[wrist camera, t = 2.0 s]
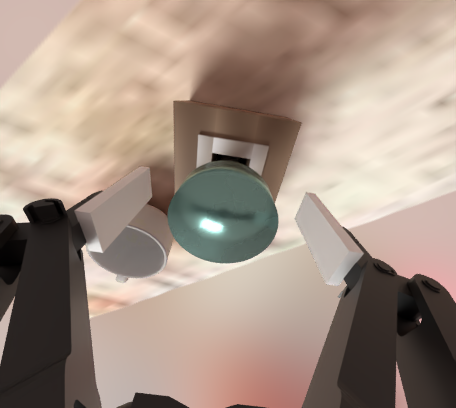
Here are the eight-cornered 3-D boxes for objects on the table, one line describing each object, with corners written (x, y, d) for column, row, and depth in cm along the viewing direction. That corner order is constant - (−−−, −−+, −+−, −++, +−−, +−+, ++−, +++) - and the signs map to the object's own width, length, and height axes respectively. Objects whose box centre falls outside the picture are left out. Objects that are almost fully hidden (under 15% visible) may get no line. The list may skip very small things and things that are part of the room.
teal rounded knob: (203, 176, 26) (169, 256, 13) (207, 126, 22) (165, 164, 9) (249, 183, 26) (262, 269, 13) (261, 135, 23) (294, 184, 9)
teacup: (133, 182, 27) (97, 210, 20) (192, 218, 30) (179, 253, 23) (105, 234, 33) (71, 270, 26) (157, 260, 36) (138, 298, 29)
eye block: (186, 189, 27) (173, 211, 22) (189, 100, 21) (172, 100, 16) (262, 200, 28) (268, 225, 22) (286, 117, 21) (303, 123, 16)
